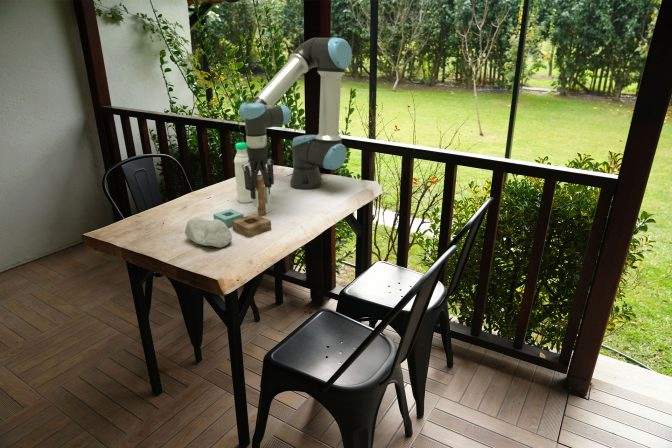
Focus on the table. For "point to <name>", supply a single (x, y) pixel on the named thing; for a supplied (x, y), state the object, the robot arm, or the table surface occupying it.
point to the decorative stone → (208, 232)
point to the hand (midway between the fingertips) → (261, 204)
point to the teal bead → (228, 216)
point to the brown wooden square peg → (261, 196)
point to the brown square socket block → (251, 225)
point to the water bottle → (241, 173)
